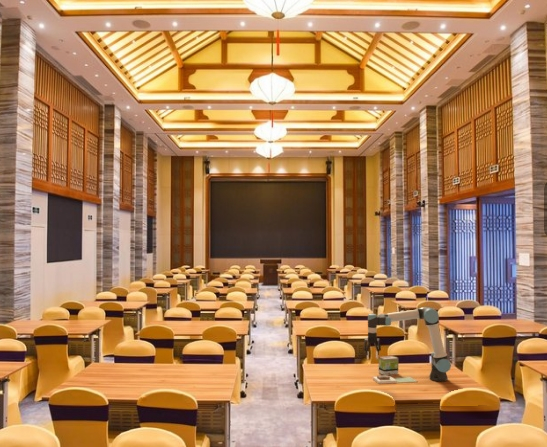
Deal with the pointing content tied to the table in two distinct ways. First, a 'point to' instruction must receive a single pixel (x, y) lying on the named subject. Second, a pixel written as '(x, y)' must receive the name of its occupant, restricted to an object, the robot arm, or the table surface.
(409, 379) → the mat
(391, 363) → the tea box
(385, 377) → the name block
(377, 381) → the stand
